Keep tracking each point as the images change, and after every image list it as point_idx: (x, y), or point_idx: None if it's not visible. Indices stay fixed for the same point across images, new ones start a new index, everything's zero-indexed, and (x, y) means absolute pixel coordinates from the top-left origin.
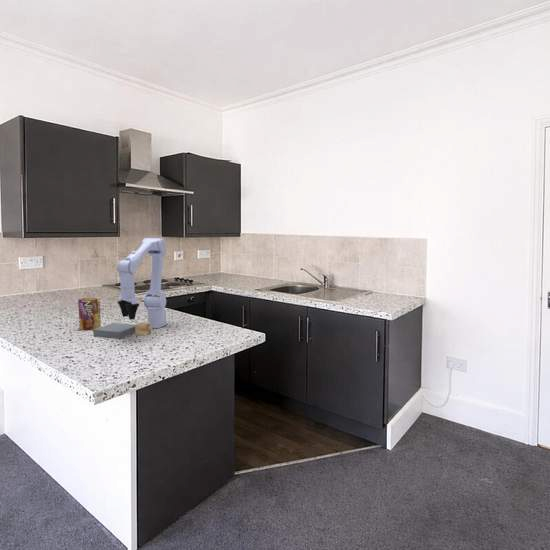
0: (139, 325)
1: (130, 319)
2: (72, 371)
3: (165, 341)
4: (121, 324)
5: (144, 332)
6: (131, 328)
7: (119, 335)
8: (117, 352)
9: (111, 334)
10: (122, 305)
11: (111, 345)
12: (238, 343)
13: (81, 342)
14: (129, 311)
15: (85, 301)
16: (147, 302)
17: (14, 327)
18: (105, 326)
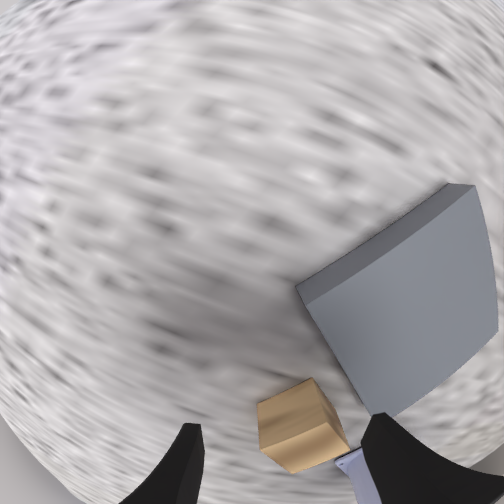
0: (295, 433)
1: (182, 427)
2: (5, 22)
3: (106, 410)
4: (455, 359)
5: (260, 416)
6: (355, 388)
7: (305, 291)
8: (39, 172)
9: (363, 255)
10: (425, 502)
11: (172, 181)
12: (41, 463)
13: (368, 72)
14: (137, 492)
15: None
16: None
17: None
18: (485, 274)
